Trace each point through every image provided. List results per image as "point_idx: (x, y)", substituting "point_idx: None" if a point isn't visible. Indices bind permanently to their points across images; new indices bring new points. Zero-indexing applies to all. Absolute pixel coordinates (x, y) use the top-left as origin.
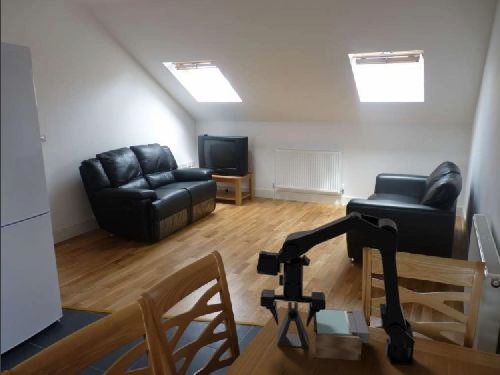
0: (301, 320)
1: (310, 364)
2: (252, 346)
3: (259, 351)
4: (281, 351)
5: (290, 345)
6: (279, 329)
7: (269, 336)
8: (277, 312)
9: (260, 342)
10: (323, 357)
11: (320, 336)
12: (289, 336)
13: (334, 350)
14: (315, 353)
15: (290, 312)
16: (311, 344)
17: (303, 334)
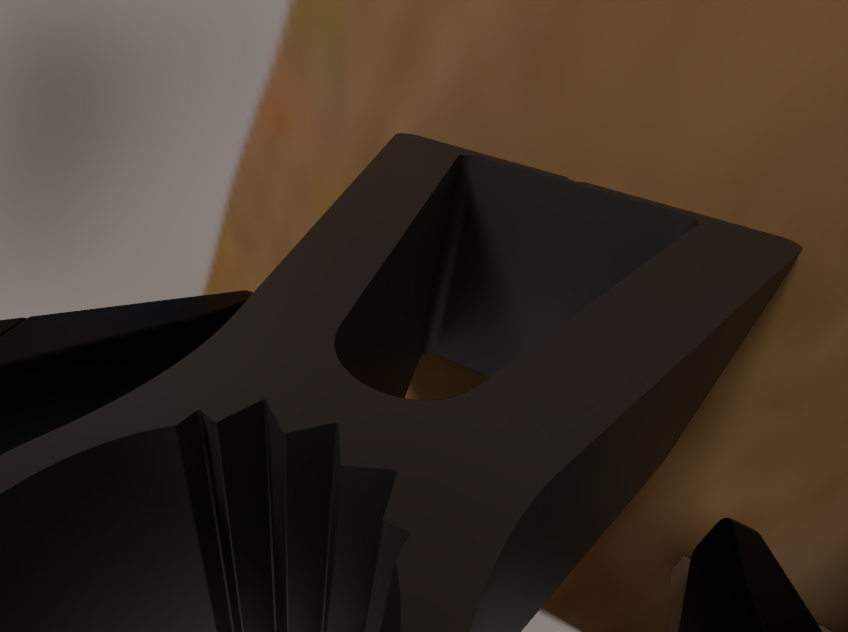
0: (677, 384)
1: (588, 593)
2: (217, 270)
3: None
4: (406, 393)
5: (486, 375)
6: (385, 149)
7: (321, 162)
8: (42, 434)
9: (259, 237)
10: None
11: None
12: (515, 233)
13: None
14: (670, 608)
15: (239, 627)
16: (745, 420)
17: (593, 542)
